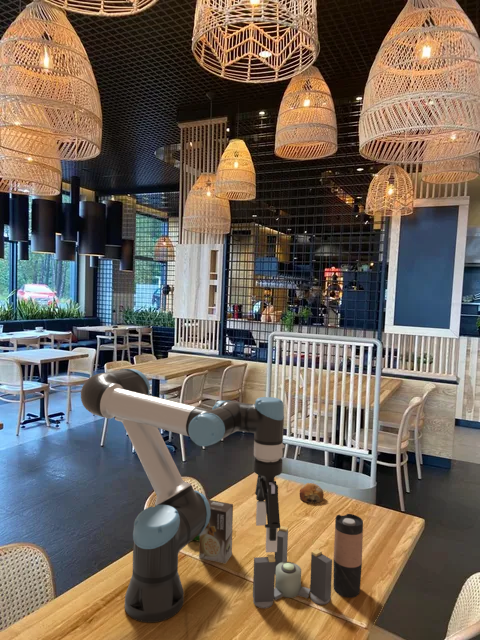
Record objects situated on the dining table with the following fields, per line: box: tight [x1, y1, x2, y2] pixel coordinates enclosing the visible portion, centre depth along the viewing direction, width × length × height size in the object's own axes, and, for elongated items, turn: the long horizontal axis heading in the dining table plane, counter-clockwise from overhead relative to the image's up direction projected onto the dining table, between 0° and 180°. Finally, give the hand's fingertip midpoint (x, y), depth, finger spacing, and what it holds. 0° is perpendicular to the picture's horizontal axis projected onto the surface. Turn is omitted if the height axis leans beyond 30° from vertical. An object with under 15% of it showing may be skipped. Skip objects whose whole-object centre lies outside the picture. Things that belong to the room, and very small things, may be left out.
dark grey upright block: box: [252, 554, 276, 609], centre depth 117 cm, size 5×5×12 cm
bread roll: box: [299, 482, 324, 504], centre depth 183 cm, size 10×10×8 cm
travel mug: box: [333, 513, 364, 599], centre depth 123 cm, size 8×8×20 cm
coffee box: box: [198, 499, 234, 565], centre depth 138 cm, size 9×6×16 cm
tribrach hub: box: [274, 561, 311, 601], centre depth 123 cm, size 12×11×7 cm
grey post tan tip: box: [309, 548, 333, 606], centre depth 119 cm, size 5×5×12 cm
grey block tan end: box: [274, 525, 289, 575], centre depth 131 cm, size 5×5×12 cm
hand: (265, 537), depth 117 cm, fingers open, 13 cm apart
